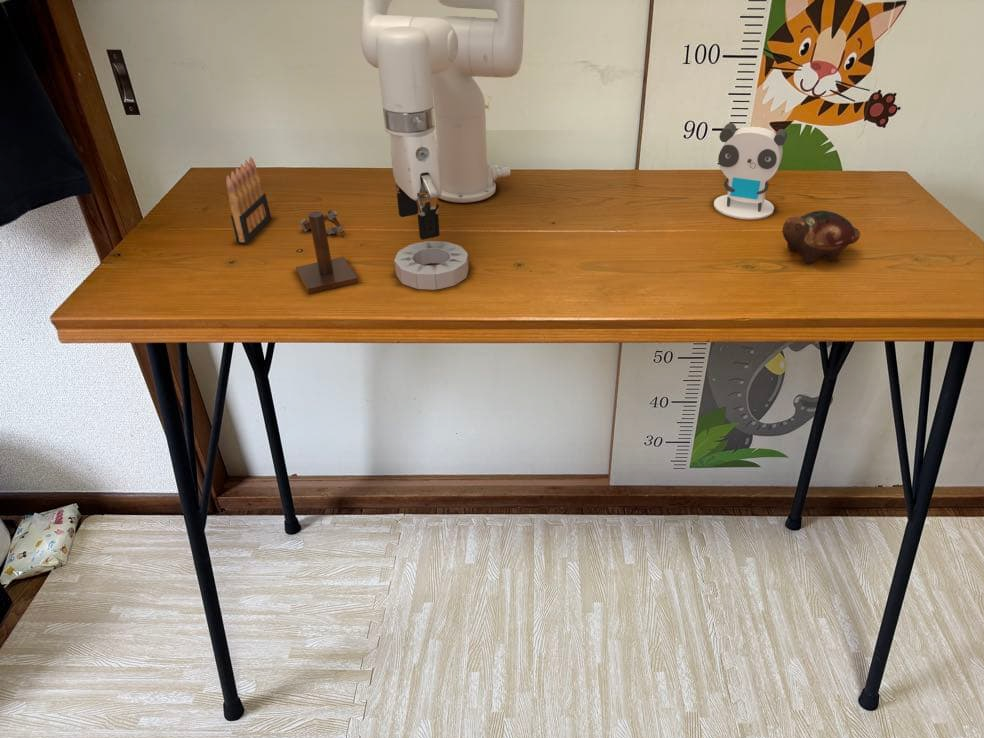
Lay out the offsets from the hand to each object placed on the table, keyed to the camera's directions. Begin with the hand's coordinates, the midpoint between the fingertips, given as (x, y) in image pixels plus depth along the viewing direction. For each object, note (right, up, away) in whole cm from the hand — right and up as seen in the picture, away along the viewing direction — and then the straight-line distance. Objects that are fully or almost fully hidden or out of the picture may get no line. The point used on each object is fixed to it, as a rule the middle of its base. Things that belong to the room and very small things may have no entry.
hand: (419, 226), depth 125 cm
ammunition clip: (-32, +2, +13) cm, 34 cm away
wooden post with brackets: (-19, +2, +13) cm, 23 cm away
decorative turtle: (+67, -4, +7) cm, 68 cm away
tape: (+2, -7, +1) cm, 8 cm away
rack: (-15, -8, 0) cm, 17 cm away
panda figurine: (+59, +9, +23) cm, 64 cm away
